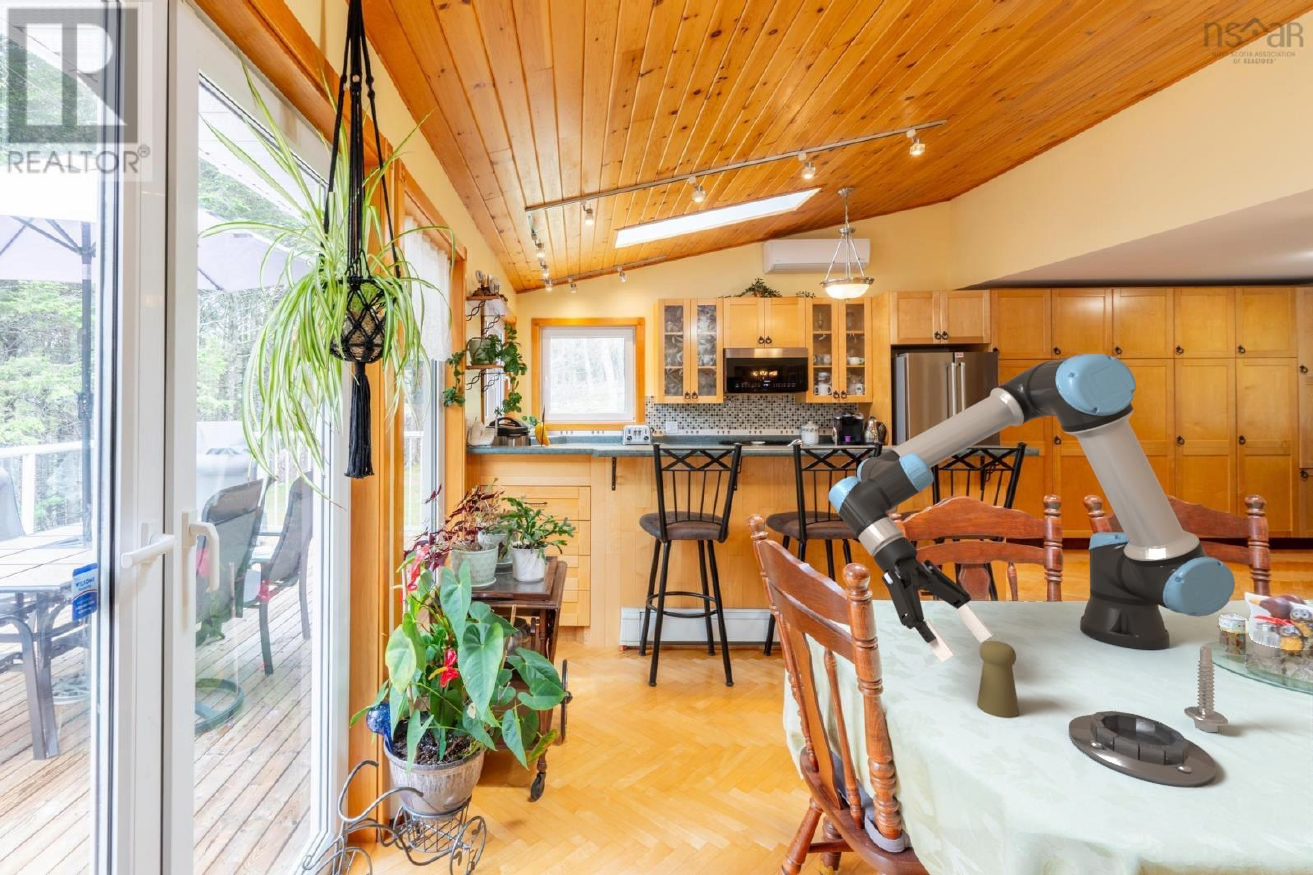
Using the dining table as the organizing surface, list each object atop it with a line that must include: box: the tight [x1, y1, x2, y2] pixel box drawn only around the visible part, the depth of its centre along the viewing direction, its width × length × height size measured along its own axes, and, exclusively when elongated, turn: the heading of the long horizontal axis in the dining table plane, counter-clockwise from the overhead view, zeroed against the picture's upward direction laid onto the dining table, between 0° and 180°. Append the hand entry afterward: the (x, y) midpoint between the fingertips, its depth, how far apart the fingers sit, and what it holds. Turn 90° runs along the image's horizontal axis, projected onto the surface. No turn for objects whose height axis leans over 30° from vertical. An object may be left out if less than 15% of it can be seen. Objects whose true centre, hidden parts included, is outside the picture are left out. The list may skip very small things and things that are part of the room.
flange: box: [1068, 710, 1216, 788], centre depth 81 cm, size 16×16×3 cm
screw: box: [1183, 645, 1229, 733], centre depth 87 cm, size 13×5×5 cm
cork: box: [976, 640, 1020, 719], centre depth 94 cm, size 6×6×11 cm
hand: (969, 648), depth 96 cm, fingers open, 13 cm apart
